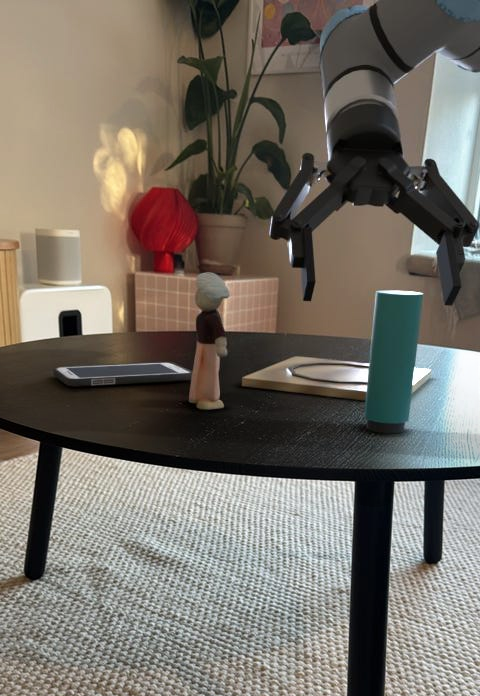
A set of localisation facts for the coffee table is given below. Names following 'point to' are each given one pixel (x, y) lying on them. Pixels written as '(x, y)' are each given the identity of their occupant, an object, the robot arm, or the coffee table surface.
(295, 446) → the coffee table surface
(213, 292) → the grandmother figurine
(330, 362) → the board
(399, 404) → the cylinder
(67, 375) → the cell phone
